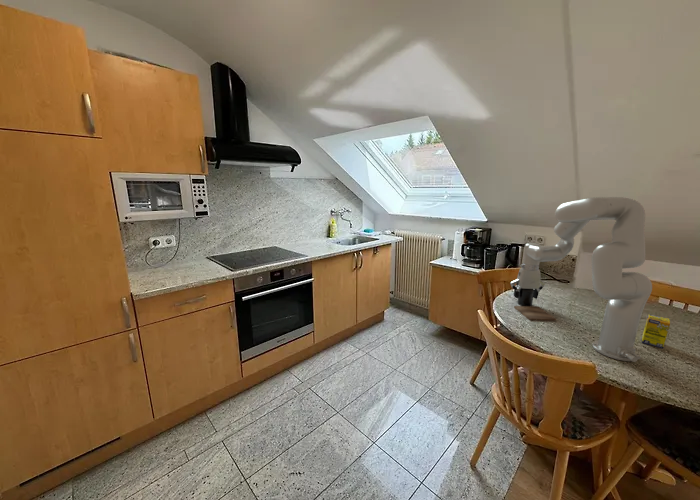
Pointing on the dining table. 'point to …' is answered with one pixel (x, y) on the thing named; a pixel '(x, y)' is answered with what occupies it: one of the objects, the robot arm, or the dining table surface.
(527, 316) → the walnut board
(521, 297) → the supplement bottle
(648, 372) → the dining table surface
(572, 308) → the dining table surface
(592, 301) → the dining table surface
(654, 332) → the supplement box
